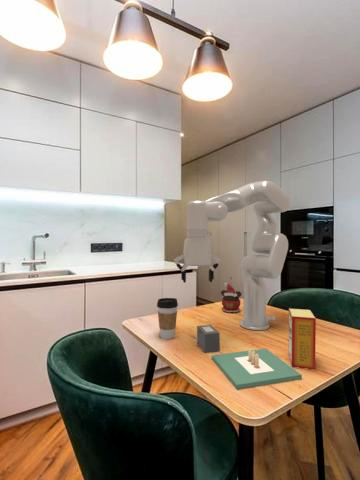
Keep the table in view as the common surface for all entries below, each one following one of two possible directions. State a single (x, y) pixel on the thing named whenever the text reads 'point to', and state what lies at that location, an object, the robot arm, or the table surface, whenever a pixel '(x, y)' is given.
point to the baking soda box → (302, 338)
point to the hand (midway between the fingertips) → (197, 281)
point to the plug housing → (208, 338)
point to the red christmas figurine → (230, 298)
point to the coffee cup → (167, 317)
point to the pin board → (254, 368)
